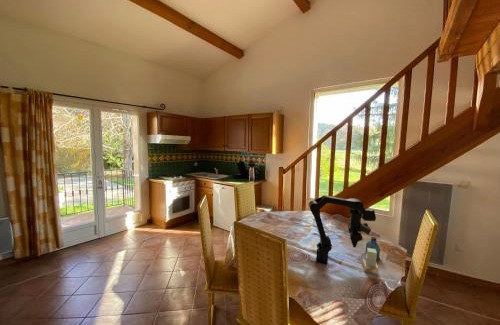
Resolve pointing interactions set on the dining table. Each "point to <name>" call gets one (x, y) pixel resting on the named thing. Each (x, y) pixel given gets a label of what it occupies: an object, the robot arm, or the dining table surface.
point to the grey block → (370, 262)
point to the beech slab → (370, 267)
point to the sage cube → (371, 254)
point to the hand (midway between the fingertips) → (353, 243)
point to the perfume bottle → (373, 245)
